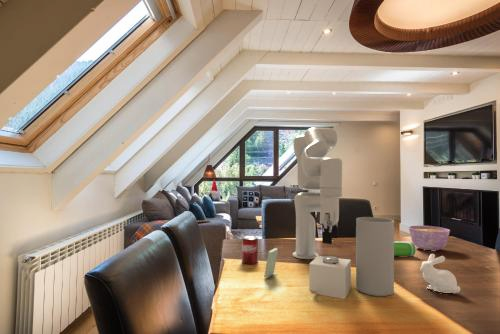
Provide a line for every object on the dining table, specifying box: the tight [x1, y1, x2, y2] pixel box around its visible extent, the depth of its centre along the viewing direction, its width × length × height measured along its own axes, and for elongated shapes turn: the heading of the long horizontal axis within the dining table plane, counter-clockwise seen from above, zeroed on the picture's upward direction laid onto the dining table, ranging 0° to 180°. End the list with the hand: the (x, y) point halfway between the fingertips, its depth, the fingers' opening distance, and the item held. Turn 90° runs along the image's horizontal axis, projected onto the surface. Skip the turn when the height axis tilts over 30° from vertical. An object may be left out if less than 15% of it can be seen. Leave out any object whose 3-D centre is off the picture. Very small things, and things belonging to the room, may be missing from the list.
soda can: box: [241, 235, 259, 266], centre depth 144 cm, size 7×7×12 cm
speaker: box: [394, 240, 416, 257], centre depth 162 cm, size 18×7×8 cm, turn 89°
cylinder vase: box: [355, 216, 395, 297], centre depth 114 cm, size 12×12×25 cm
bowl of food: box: [408, 225, 451, 251], centre depth 177 cm, size 20×20×12 cm
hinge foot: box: [266, 273, 278, 281], centre depth 125 cm, size 7×2×1 cm, turn 154°
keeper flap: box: [263, 247, 279, 279], centre depth 125 cm, size 7×1×10 cm, turn 154°
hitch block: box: [308, 255, 352, 300], centre depth 114 cm, size 12×12×10 cm
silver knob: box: [322, 255, 340, 264], centre depth 114 cm, size 6×6×10 cm
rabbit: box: [419, 253, 461, 295], centre depth 115 cm, size 12×9×12 cm
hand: (330, 240), depth 115 cm, fingers open, 9 cm apart
